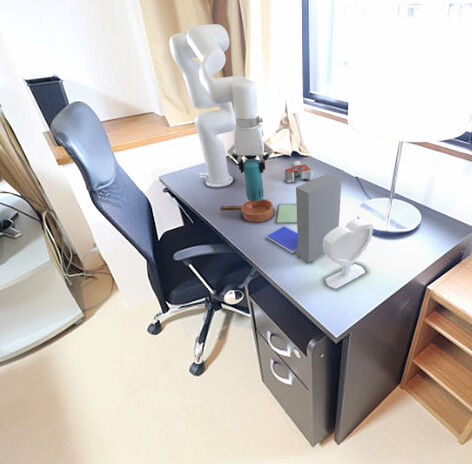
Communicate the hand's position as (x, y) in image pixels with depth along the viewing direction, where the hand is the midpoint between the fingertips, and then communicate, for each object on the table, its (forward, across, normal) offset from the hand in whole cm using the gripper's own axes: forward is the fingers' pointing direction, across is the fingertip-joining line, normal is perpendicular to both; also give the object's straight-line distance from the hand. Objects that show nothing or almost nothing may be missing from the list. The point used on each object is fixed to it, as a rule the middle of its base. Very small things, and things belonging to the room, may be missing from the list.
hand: (252, 170), depth 116 cm
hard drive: (+18, -14, +19) cm, 29 cm away
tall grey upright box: (+18, -24, +24) cm, 38 cm away
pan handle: (+16, +10, +1) cm, 19 cm away
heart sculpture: (+17, -32, +36) cm, 51 cm away
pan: (+18, 0, +1) cm, 18 cm away
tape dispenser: (+19, -16, -34) cm, 42 cm away
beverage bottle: (+13, 0, 0) cm, 13 cm away
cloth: (+18, -14, +1) cm, 22 cm away
